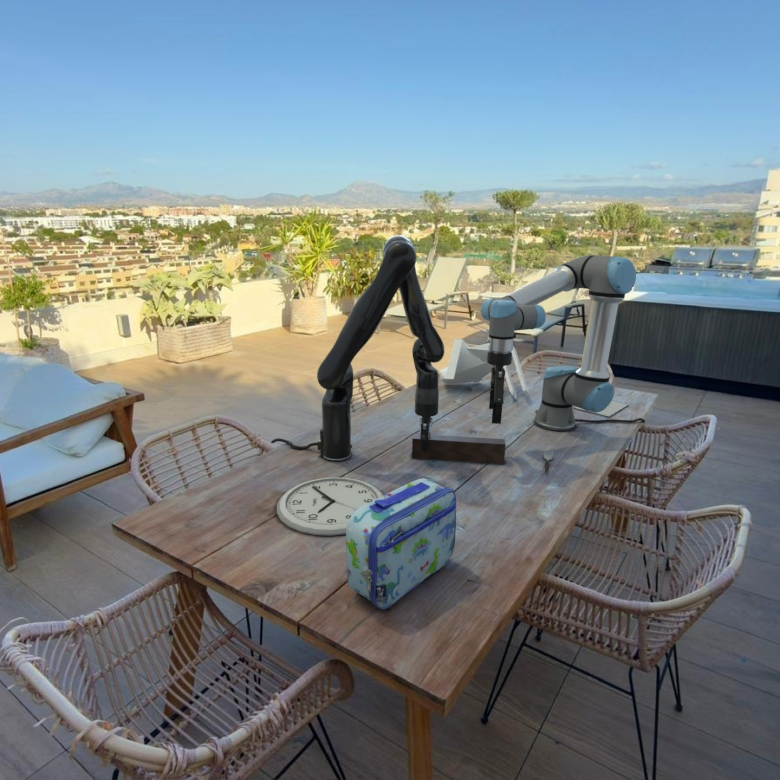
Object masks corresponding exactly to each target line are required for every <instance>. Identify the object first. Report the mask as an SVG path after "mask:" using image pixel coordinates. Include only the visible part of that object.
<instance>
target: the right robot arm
mask: <svg viewBox="0 0 780 780" xmlns="http://www.w3.org/2000/svg"><path fill="white" fill-rule="evenodd" d="M636 281H637V270H636V267H635V265H634V262H632V260H631V259H629V258H627V257H621V256H617V255H616V256H610V255H595V254H588V255H583V256H579V257H577V258H574V259H571V260H568V261H566V262H563V263H562V264H560V265H558V266H556V267H555V268H554V270H553V271H552V272H550V273H548V274H547V275H544V276H542V277H541V278H539V279H536V280H534V281H532V282H530V283H528V284H526V285H524V286H522V287H520V288H518V289H516V290H514V291H512V292H510V293H508V294H506V295H504V296H501V297H500V298H497V299H496V298H487V299H486V300H484V302H483V303H482V304H481V306H480V307H481V308H480V314H481V317H482V319H484V320H485V321H488V322H489V325H488V339H486V341H485V342H486V344H487V343H488V349H489V351H488V352H487V363H489V364H491V365H493V368H492V369H491V372H490V373H491V376H490V377H491V378H490V382H489V385H490V389H489V390H490V391H489V403H488V410H492V414H491V424H495V425H501V424H502V413H503V405H504V403H505V402H504V396H505V395H504V392H505V371H504V368H503V366H505V365H506V366H507V365H508V366H510V365H511V364H512V360H513V359H512V352H511V351H512V350H513V346H514V340H515V332H517V331H525V330H535V329H539V328H541V327H542V326H544V324H545V322H546V319H547V313H546V310H545V308H544V307H543V306H542V305H540V303H542V302H545V301H546V300H548V299H550V298H552V297H555V296H557V295H558V294H561V293H562V292H565V293H567V292H571V291H572V290H576V289H584V290H585V289H586V290H588V297H589V298H590V299H591V304H590V311H589V316H588V323H587V329H586V333H585V341H584V347H583V352H582V358H581V363H580V367H579V368H577V367H574V366H569V365H568V366H567V365H557V366H550V367H547V368H546V369H545V371H544V375H543V378H542V379H543V381H542V392H541V402H540V405H539V407H538V409H536V410H535V411H534V414H535V416H534V424H535V425H536V426H537V427H539V428H542V429H544V430H549V431H556V432H567V431H572V430H574V429H575V428H576V422H579V423H591V424H592V423H593V424H597V423H598V424H601V423H627V424H628V423H629V424H630V423H636V422H639V421H641V422H643V423H646V420H645V419H644V418H642V417H637V418H636V419H614V418H613V419H612V418H611V419H597V420H596V419H595V420H593V419H581V418H575V417H576V416H575V413H574V407H579V408H582V409H584V410H586V411H585V412H588V411H591V412H590V413H592V412H595V413H594V414H596V413H597V412H601V411H603V410H604V409H605V408H606V407H607V406H608V405H609V404H610V402H611V401H613V398H614V396H615V388H614V385H613V384H612V383H611V382H610V378H611V376H610V374H609V373H608V371H607V368H608V363H609V359H610V358H609V357H610V353H611V352H610V351H611V347H612V342H613V336H614V330H615V325H616V319H617V314H618V308H619V303H621V302H623V300H624V299H625V296H626V294H630V292H632V290H633V288H634V287H635V285H636ZM573 406H574V407H573ZM584 410H583V411H584Z"/></svg>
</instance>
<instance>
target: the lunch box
mask: <svg viewBox="0 0 780 780" xmlns="http://www.w3.org/2000/svg"><path fill="white" fill-rule="evenodd" d="M456 498H457V496H456V493H455V491H454V489H452V488H450V487H443V486H441V485H439V484H438V483H436V482H433V481H432V480H430V479H427V478H423V477H422V478H418V479H416V480H413V481H411V482H409V483H406V484H405V485H402V486H400V487H398V488H396V489H394V490H392V491H390V492H388V493H386V494H384V496H382V497H380V498H378V499H376V500H374V501H372V502H370V503H368V504H366V505H364V506H362V507H360V508H358V509H357V510H356V511H355V512H354V513H353V514H352V515H351V517H350V519H349V521H348V524H347V528H346V534H345V547H346V549H345V550H346V572H347V573H346V575H347V584H348V587H349V589H350V590H351V591H353V592H355V593H357V594H358V595H361V596H363V597H364V598H365V599H367V600H368V601H369V602H371V604H372V605H373V606H374V607H376V608H377V609H380V610H386V609H389V608H391V607H393V605H395V603H397V602H398V601H399V600H400V599H402V598H403V597H404V596H405V595H408V593H410V592H411V591H412V590H413V589H415V588H416V587H417V586H419V585H420V584H421V583H423V581H424V580H425V579H427V578H428V577H430V576H431V575H433V574H435V573H437V572H438V571H439V570H441V569H442V568H443V567H444V566H446V564H447V563H448V562H449V560H450V559H451V556H452V555H453V552H454V548H455V544H456V531H457V530H456V529H457V499H456Z"/></svg>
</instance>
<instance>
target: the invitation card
mask: <svg viewBox="0 0 780 780" xmlns="http://www.w3.org/2000/svg"><path fill="white" fill-rule="evenodd" d="M628 406H629V404H627V403H623V402H618V401H614V400H612V401H611V402H610V404H609V405H608V406H607V407H606V408H605V409H604V410H603V411H601V412H597V413H595V412H591V411H586V410H584V409H582V408H579V407H576V406H574V407H573V409H575V410H581V411H584V412H587V413H593V414H596V415H600V416H604V417H608V418H609V417H611V416H613V415H614V414H616V413H617V412H619V411H621V410H623V409H624V408H626V407H628Z"/></svg>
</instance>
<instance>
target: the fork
mask: <svg viewBox="0 0 780 780" xmlns="http://www.w3.org/2000/svg"><path fill="white" fill-rule="evenodd" d="M553 451H554V450H553V448H552V451H551V449H549V451H547V450H545V452H544V455H543V459H545V460H546V461H545V463H544V473H547V470H548V468H549V461H551V460H553Z"/></svg>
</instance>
